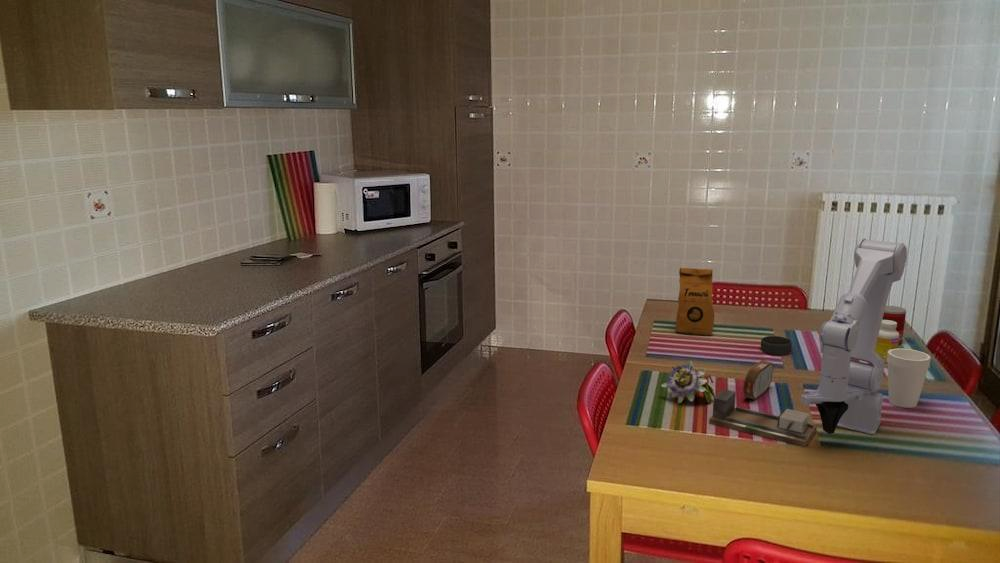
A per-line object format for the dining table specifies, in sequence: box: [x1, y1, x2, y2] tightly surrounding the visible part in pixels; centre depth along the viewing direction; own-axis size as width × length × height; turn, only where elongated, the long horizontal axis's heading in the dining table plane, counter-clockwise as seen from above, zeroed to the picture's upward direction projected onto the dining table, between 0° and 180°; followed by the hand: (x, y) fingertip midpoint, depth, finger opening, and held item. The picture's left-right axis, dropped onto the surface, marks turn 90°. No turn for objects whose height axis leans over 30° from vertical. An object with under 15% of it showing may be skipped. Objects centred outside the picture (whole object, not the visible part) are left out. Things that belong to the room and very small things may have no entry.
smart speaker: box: [760, 335, 793, 356], centre depth 227 cm, size 9×9×4 cm
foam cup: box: [887, 348, 932, 409], centre depth 186 cm, size 10×9×13 cm
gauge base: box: [708, 388, 818, 447], centre depth 173 cm, size 22×10×6 cm, turn 54°
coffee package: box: [675, 267, 715, 336], centre depth 244 cm, size 10×12×22 cm
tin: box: [742, 359, 774, 400], centre depth 193 cm, size 15×3×8 cm, turn 141°
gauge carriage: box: [777, 408, 810, 434], centre depth 168 cm, size 6×8×3 cm
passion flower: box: [660, 360, 716, 404], centre depth 190 cm, size 11×11×12 cm
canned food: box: [882, 305, 907, 346], centre depth 234 cm, size 8×8×11 cm
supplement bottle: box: [871, 320, 899, 368], centre depth 214 cm, size 7×7×13 cm
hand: (828, 431), depth 165 cm, fingers closed
